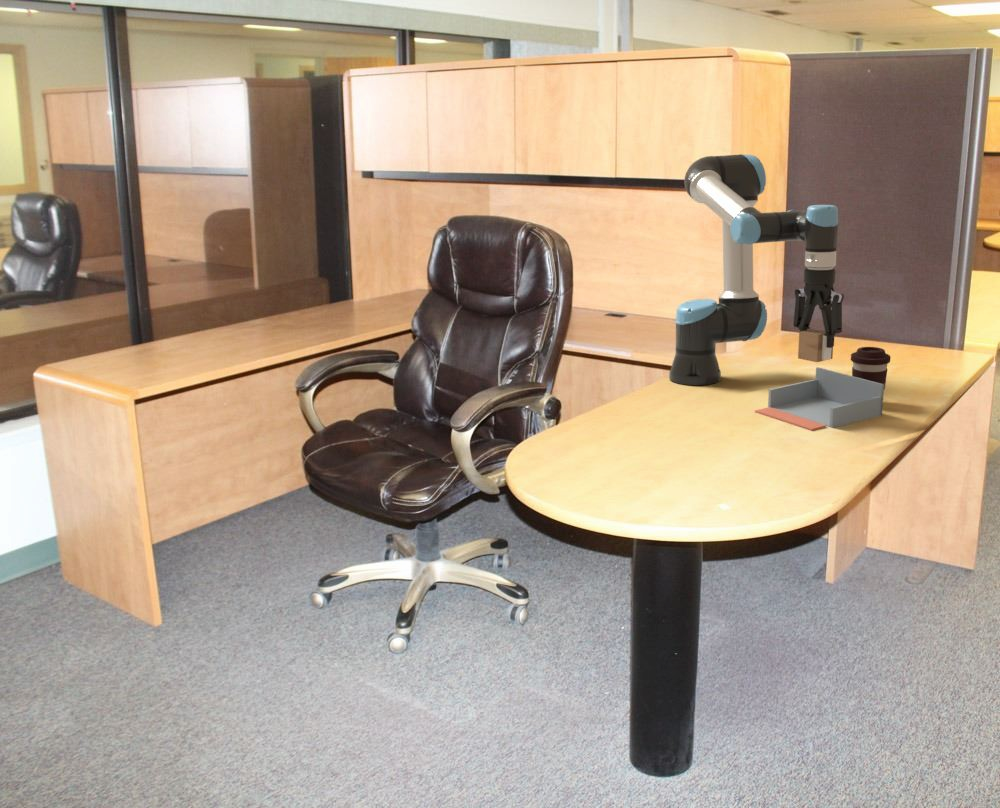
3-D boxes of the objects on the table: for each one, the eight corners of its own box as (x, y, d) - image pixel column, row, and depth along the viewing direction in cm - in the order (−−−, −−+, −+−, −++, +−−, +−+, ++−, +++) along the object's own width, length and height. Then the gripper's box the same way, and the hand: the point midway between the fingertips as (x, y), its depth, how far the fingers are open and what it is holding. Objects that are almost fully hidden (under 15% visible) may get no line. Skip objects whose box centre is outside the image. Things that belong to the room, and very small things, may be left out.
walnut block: (813, 355, 265) (814, 328, 264) (832, 358, 261) (833, 332, 259) (798, 358, 262) (799, 331, 260) (816, 362, 257) (818, 335, 256)
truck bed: (767, 410, 271) (769, 377, 268) (816, 399, 279) (818, 367, 277) (831, 431, 252) (833, 396, 250) (881, 418, 261) (884, 384, 258)
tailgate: (768, 411, 269) (754, 415, 267) (769, 407, 269) (755, 410, 266) (825, 430, 253) (811, 434, 250) (826, 425, 252) (811, 429, 250)
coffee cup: (889, 409, 268) (893, 354, 264) (850, 408, 270) (853, 353, 266) (883, 398, 278) (887, 345, 274) (845, 398, 280) (849, 344, 276)
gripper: (780, 265, 261) (777, 353, 267) (841, 273, 246) (836, 366, 252) (800, 262, 265) (796, 349, 271) (861, 269, 250) (856, 361, 256)
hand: (815, 357), depth 261 cm, fingers closed on walnut block, 6 cm apart
